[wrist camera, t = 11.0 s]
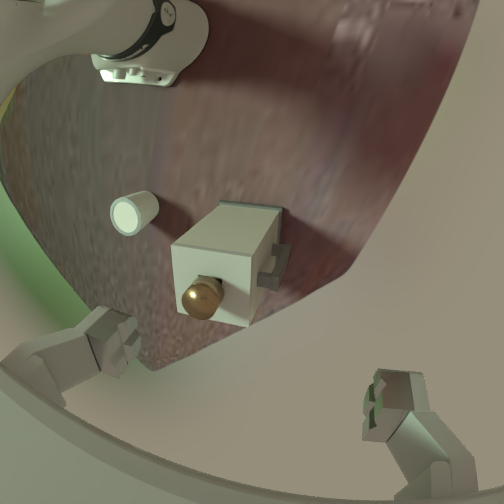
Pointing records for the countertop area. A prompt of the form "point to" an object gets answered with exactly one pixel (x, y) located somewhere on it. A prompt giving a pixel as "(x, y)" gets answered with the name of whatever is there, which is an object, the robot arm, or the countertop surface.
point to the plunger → (203, 297)
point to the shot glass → (133, 212)
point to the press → (233, 257)
